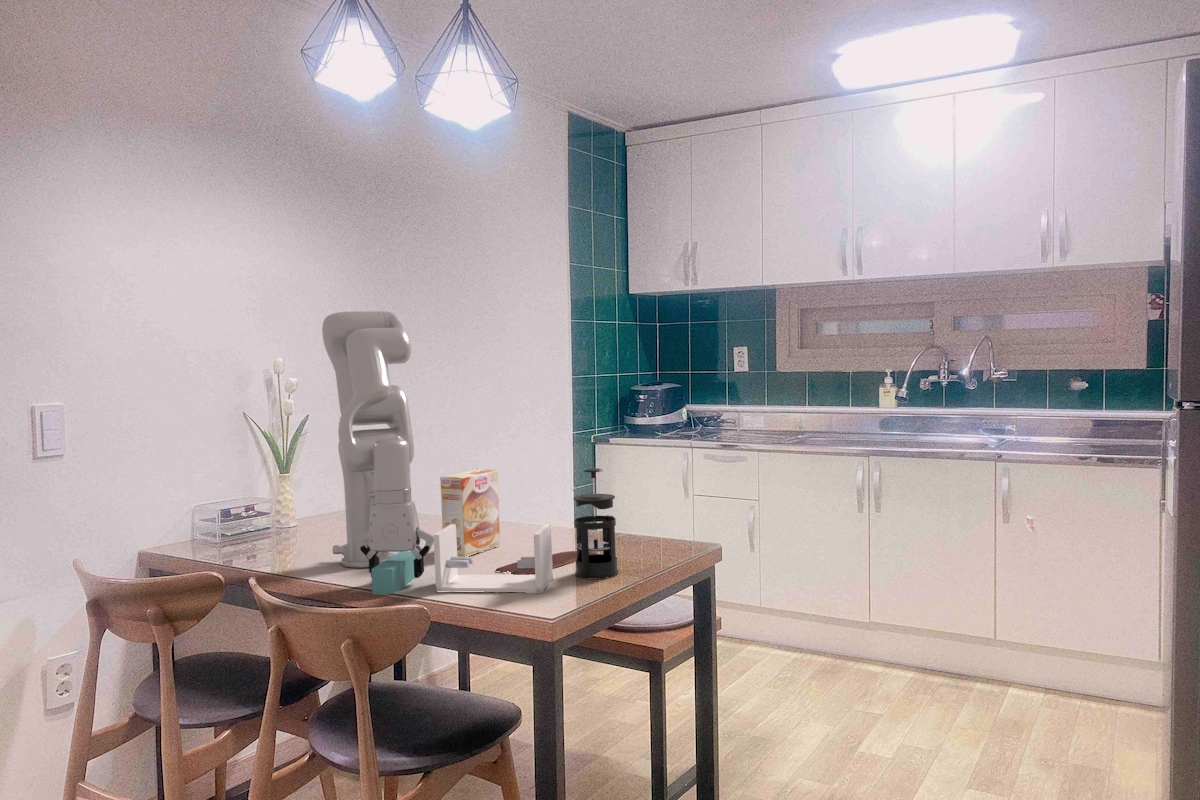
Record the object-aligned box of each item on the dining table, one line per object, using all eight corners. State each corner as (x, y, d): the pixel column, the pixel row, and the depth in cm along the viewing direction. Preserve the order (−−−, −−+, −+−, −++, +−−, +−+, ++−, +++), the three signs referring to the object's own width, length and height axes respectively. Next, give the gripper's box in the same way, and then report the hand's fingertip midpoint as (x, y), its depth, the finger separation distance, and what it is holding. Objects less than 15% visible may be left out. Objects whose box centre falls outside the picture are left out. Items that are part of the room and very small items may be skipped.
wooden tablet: (571, 545, 221) (602, 545, 215) (573, 554, 221) (603, 554, 215) (491, 568, 202) (521, 568, 195) (492, 578, 202) (523, 579, 195)
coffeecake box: (465, 558, 215) (462, 477, 214) (442, 556, 219) (438, 476, 218) (501, 546, 228) (498, 469, 227) (479, 544, 232) (476, 468, 231)
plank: (393, 595, 185) (392, 569, 185) (372, 595, 186) (371, 569, 185) (420, 576, 201) (419, 551, 200) (400, 576, 201) (399, 551, 201)
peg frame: (436, 592, 185) (433, 534, 184) (452, 579, 196) (450, 524, 195) (541, 593, 182) (539, 534, 181) (553, 579, 192) (550, 523, 192)
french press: (602, 581, 189) (598, 472, 188) (565, 577, 194) (561, 471, 193) (630, 569, 199) (626, 465, 198) (594, 565, 204) (590, 464, 203)
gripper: (347, 500, 190) (351, 580, 191) (426, 499, 187) (429, 581, 188) (362, 494, 197) (365, 572, 198) (438, 493, 194) (441, 572, 195)
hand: (396, 576), depth 193 cm, fingers open, 9 cm apart
